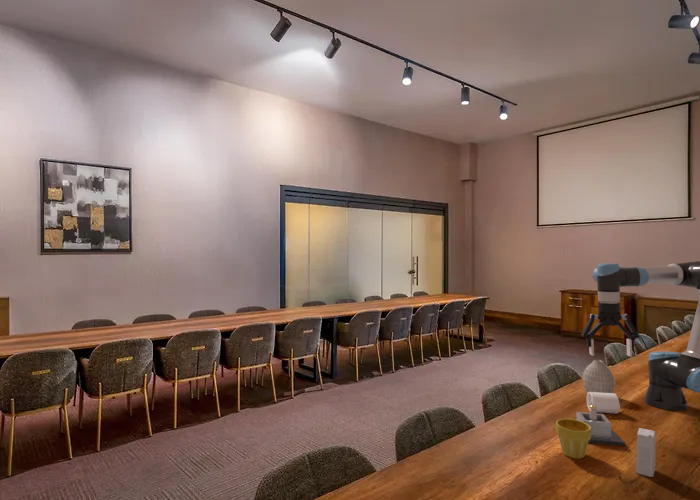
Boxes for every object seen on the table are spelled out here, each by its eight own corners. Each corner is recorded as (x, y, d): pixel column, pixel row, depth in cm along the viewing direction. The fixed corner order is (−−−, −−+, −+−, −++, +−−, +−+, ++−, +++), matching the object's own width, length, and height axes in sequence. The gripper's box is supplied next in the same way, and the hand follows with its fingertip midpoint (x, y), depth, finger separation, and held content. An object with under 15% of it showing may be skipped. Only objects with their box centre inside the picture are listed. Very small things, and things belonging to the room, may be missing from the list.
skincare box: (638, 465, 131) (637, 426, 131) (656, 470, 128) (655, 430, 128) (636, 473, 126) (635, 433, 126) (654, 478, 123) (653, 437, 123)
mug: (620, 416, 171) (619, 397, 171) (593, 414, 173) (593, 395, 173) (608, 406, 182) (607, 387, 182) (583, 404, 184) (583, 386, 184)
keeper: (611, 431, 156) (611, 400, 156) (625, 445, 144) (624, 412, 144) (564, 427, 160) (564, 397, 160) (574, 441, 148) (573, 409, 148)
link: (603, 428, 156) (603, 414, 156) (611, 439, 147) (611, 423, 147) (576, 426, 158) (576, 411, 158) (582, 436, 149) (582, 420, 149)
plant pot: (590, 464, 132) (590, 433, 132) (554, 456, 137) (554, 426, 137) (592, 451, 140) (591, 422, 141) (557, 444, 146) (557, 416, 146)
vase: (584, 399, 190) (584, 362, 191) (580, 391, 202) (580, 356, 203) (617, 403, 186) (617, 365, 186) (611, 394, 198) (611, 358, 198)
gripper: (639, 301, 168) (641, 353, 168) (571, 301, 173) (573, 352, 173) (648, 303, 160) (650, 358, 160) (577, 303, 166) (579, 356, 165)
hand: (610, 355), depth 166 cm, fingers open, 13 cm apart
